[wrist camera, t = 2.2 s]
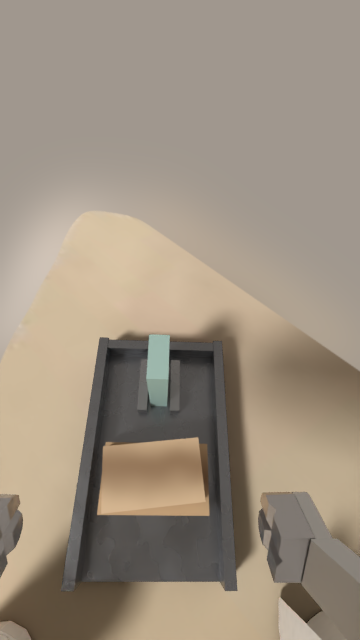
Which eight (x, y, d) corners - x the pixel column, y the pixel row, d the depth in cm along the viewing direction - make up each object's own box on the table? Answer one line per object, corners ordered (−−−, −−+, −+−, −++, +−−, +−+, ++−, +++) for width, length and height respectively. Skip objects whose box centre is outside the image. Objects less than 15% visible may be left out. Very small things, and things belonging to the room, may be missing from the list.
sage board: (167, 406, 33) (168, 379, 24) (150, 406, 33) (146, 378, 24) (168, 371, 35) (169, 335, 26) (152, 371, 35) (149, 334, 26)
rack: (229, 578, 27) (237, 590, 24) (72, 579, 26) (60, 591, 23) (217, 352, 37) (221, 341, 34) (104, 348, 37) (99, 337, 34)
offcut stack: (206, 513, 28) (212, 518, 25) (101, 512, 28) (92, 517, 25) (204, 442, 31) (209, 437, 28) (109, 440, 31) (102, 435, 28)
